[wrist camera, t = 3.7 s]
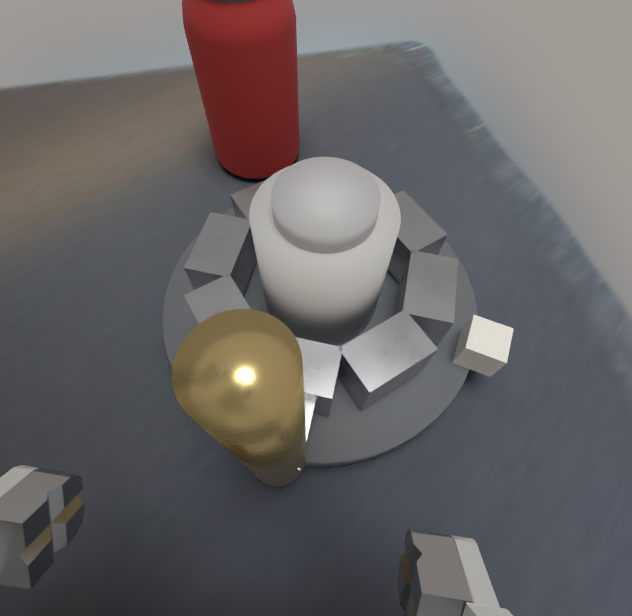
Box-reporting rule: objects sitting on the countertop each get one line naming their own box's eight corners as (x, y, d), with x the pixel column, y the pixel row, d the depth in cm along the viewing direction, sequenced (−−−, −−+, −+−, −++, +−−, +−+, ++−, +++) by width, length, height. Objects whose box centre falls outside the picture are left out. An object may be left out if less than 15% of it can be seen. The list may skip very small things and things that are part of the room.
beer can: (286, 191, 29) (273, 6, 19) (204, 175, 30) (148, -12, 20) (308, 135, 33) (308, -49, 22) (234, 122, 33) (199, -63, 23)
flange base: (120, 422, 21) (-17, 348, 12) (230, 187, 29) (196, 45, 21) (479, 511, 19) (622, 501, 10) (485, 233, 28) (566, 98, 19)
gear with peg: (245, 191, 26) (204, -23, 16) (446, 227, 25) (541, 20, 15) (132, 449, 18) (-100, 352, 8) (420, 524, 17) (593, 522, 7)
